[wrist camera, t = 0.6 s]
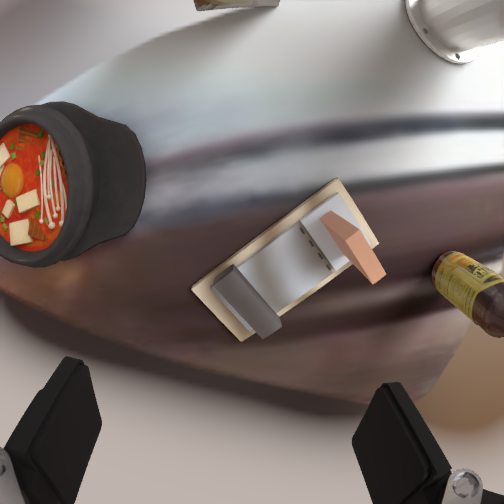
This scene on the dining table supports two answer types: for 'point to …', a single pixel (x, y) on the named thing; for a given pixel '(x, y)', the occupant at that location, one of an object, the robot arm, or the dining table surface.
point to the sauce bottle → (471, 290)
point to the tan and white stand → (342, 237)
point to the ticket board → (273, 271)
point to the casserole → (65, 182)
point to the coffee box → (232, 4)
